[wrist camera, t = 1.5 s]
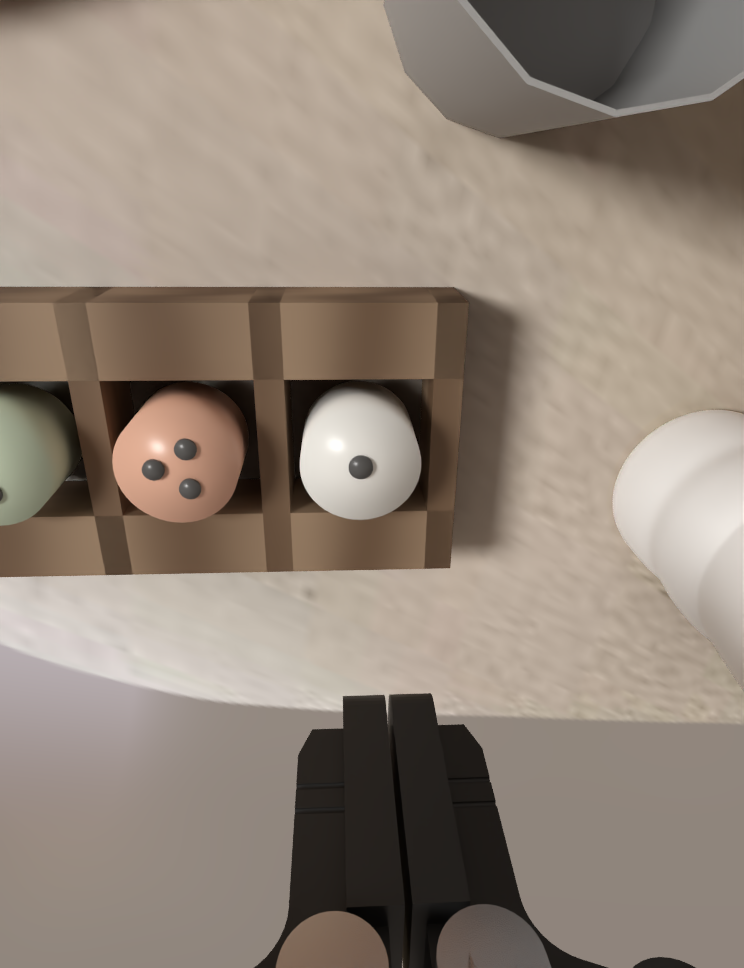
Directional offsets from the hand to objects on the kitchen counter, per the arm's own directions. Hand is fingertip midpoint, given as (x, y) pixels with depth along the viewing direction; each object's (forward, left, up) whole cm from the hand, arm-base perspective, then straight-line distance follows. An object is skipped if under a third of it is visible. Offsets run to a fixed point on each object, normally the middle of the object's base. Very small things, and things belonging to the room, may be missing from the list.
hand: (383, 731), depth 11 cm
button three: (+6, 0, -14) cm, 16 cm away
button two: (+12, 0, -14) cm, 19 cm away
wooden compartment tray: (+6, 0, -16) cm, 17 cm away
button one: (0, 0, -14) cm, 14 cm away
